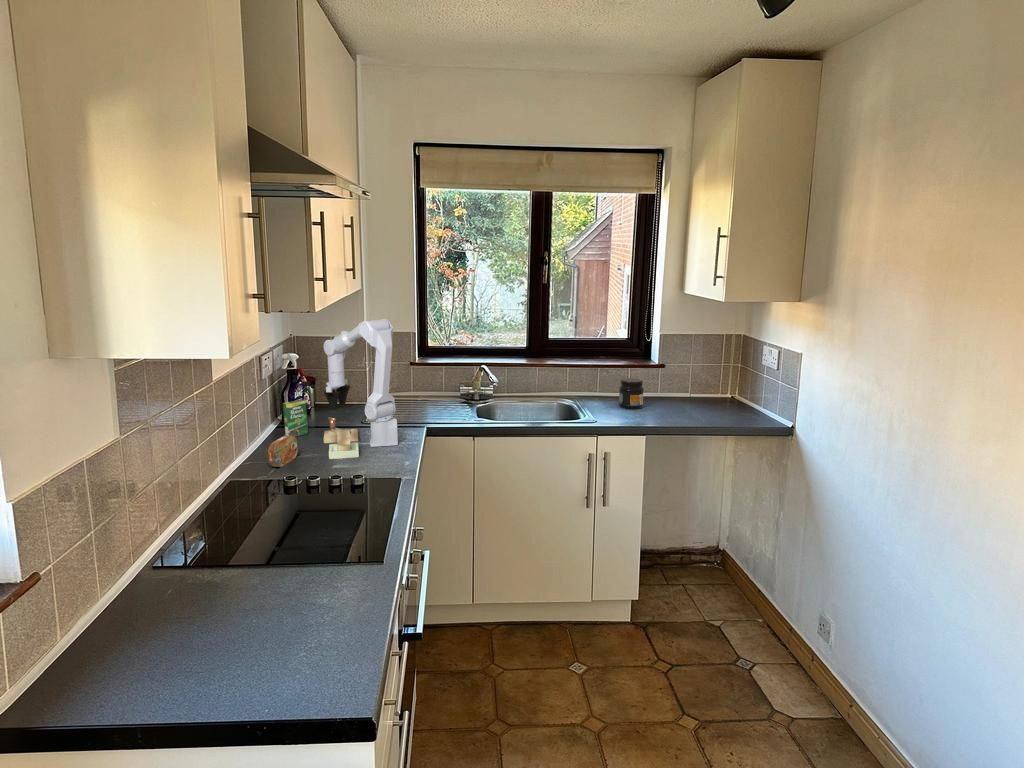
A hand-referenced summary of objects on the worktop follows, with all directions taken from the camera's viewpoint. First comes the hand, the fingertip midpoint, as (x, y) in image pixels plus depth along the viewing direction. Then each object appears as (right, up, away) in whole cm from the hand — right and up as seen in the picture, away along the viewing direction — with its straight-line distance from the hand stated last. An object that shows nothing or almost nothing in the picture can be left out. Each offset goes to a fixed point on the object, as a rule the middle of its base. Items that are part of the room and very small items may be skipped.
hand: (338, 407), depth 256 cm
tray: (+8, -15, -25) cm, 30 cm away
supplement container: (+117, -2, +40) cm, 124 cm away
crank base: (+3, -11, -6) cm, 13 cm away
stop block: (+8, -15, -25) cm, 30 cm away
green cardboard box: (-14, -11, -4) cm, 18 cm away
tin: (-9, -17, -34) cm, 39 cm away
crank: (+2, -9, -5) cm, 10 cm away
